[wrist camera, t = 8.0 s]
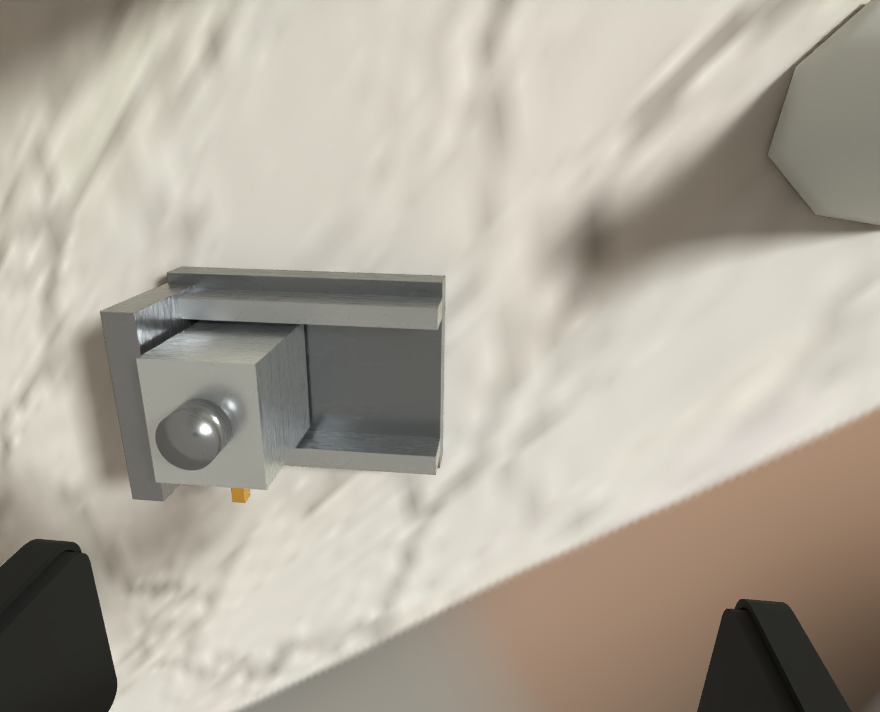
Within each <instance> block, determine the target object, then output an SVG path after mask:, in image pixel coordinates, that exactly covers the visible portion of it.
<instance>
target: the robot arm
mask: <svg viewBox="0 0 880 712" xmlns="http://www.w3.org/2000/svg"><path fill="white" fill-rule="evenodd" d="M116 692H117V678H116V673H115V669H114V665H113V660H112V656H111V651H110V647H109V643H108V638H107V634H106V629H105V625H104V621H103V616H102V612H101V607H100V603H99V598H98V594H97V590H96V585H95V581H94V576H93V572H92V568H91V563H90V560H89V557H88V556H87V555H86V554H85V553H82V552H81V549H80V547H79V546H78V545H77V544H76V543H74V542H67V541H55V540H43V539H35V540H31V541H29V542H28V543H27V544H25V545H24V546H23V547H22V548H21V549H20V550H18V551H17V552H16V553H15V554H14V555H13V556H12V557H11V558H10V559H9V560H8V561H7V562H5V563H4V564H3V565H2V566H1V567H0V712H108V711H109V709H110V708H111V706H112V704H113V701H114V699H115V695H116ZM697 712H851V710H850V708H849V707H848V705H847V703H846V701H845V700H844V698H843V696H842V695H841V693H840V691H839V689H838V688H837V686H836V685H835V683H834V681H833V679H832V678H831V676H830V674H829V672H828V671H827V669H826V667H825V666H824V664H823V662H822V660H821V659H820V657H819V655H818V654H817V652H816V650H815V648H814V647H813V645H812V643H811V642H810V640H809V638H808V636H807V635H806V633H805V631H804V630H803V628H802V626H801V624H800V623H799V621H798V619H797V618H796V616H795V614H794V613H793V611H792V610H791V608H790V607H789V606H788V605H787V604H785V603H783V602H772V601H761V600H749V599H740V600H739V601H738V603H737V604H736V607H735V609H726V610H725V611H724V613H723V615H722V619H721V623H720V627H719V630H718V634H717V638H716V642H715V646H714V650H713V653H712V657H711V661H710V665H709V669H708V673H707V676H706V680H705V684H704V688H703V691H702V696H701V699H700V703H699V707H698V711H697Z"/></svg>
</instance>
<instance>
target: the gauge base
mask: <svg viewBox="0 0 880 712" xmlns="http://www.w3.org/2000/svg"><path fill="white" fill-rule="evenodd" d="M167 279H168V283H166V284H163V285H161V286H159V287H156V288H154V289H152V290H149V291H147V292H145V293H142V294H140V295H137V296H135V297H133V298H130V299H128V300H126V301H123V302H121V303H119V304H116V305H114V306H112V307H109V308H107V309H104V310H102V311H100V315H101V321H102V326H103V332H104V338H105V343H106V349H107V355H108V361H109V366H110V372H111V378H112V383H113V389H114V395H115V401H116V406H117V412H118V418H119V423H120V429H121V435H122V441H123V446H124V452H125V458H126V463H127V469H128V475H129V481H130V486H131V492H132V498H133V499H139V500H153V501H164V500H165V499H166V498H167V497H168V496H169V495H170V494H171V493H172V492H173V491H174V490H175V489H176V488H177V487H178V486H179V485H180V484H172V483H158V482H156V481H155V474H154V468H153V462H152V456H151V449H150V443H149V437H148V430H147V424H146V418H145V412H144V405H143V399H142V393H141V386H140V380H139V374H138V368H137V361H136V358H138V357H139V356H141V355H143V354H144V353H146V352H148V351H150V350H151V349H153V348H155V347H156V346H158V345H160V344H161V343H163V342H165V341H166V340H168V339H170V338H171V337H173V336H175V335H177V334H178V333H180V332H182V331H183V330H185V329H187V328H188V327H190V326H192V325H193V324H195V323H197V322H199V321H200V320H218V321H241V322H265V323H288V324H304V336H305V352H306V368H307V384H308V400H309V416H310V427H309V429H308V430H307V432H306V433H305V435H304V436H303V438H302V439H301V441H300V442H299V443H298V445H297V446H296V448H295V449H294V451H293V452H292V454H291V455H290V457H289V458H288V460H287V461H286V462H285V464H284V465H290V466H306V467H321V468H337V469H352V470H368V471H383V472H398V473H414V474H429V475H436V471H437V468H440V464H441V459H442V453H443V392H444V332H445V276H432V275H403V274H375V273H346V272H317V271H289V270H260V269H231V268H202V267H180V268H177V269H175V270H172V271H170V272H167Z"/></svg>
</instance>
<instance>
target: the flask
mask: <svg viewBox="0 0 880 712" xmlns="http://www.w3.org/2000/svg"><path fill="white" fill-rule="evenodd" d="M768 156H769V158H770V159H771V160H772V161H773V163H774V164H775V165H776V166H777V168H778V169H779V170H780V171H781V172H782V174H783V175H784V176H785V177H786V179H787V180H788V181H789V182H790V184H791V185H792V186H793V187H794V189H795V190H796V191H797V192H798V194H799V195H800V196H801V197H802V199H803V200H804V201H805V202H806V204H807V205H808V206H809V207H810V208H811V210H812V211H813V212H814V213H815V215H820V216H827V217H833V218H839V219H845V220H851V221H857V222H863V223H869V224H875V225H880V0H871V1H870V2H869V3H868V4H866V5H865V6H864V7H863V8H862V9H861V10H860V11H859V12H857V13H856V14H855V15H854V16H853V17H852V18H851V19H849V20H848V21H847V22H846V23H845V24H844V25H843V26H841V27H840V28H839V29H838V30H837V31H836V32H835V33H834V34H832V35H831V36H830V37H829V38H828V39H827V40H826V41H824V42H823V43H822V44H821V45H820V46H819V47H818V48H816V49H815V50H814V51H813V52H812V53H811V54H810V55H808V56H807V57H806V58H805V59H804V60H803V61H802V62H801V63H799V64H798V65H797V66H796V67H795V70H794V73H793V76H792V79H791V83H790V86H789V89H788V92H787V95H786V98H785V101H784V105H783V108H782V111H781V114H780V117H779V120H778V123H777V127H776V130H775V133H774V136H773V139H772V142H771V145H770V148H769V152H768Z"/></svg>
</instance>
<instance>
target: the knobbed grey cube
mask: <svg viewBox="0 0 880 712" xmlns="http://www.w3.org/2000/svg"><path fill="white" fill-rule="evenodd" d="M136 361H137V368H138V374H139V380H140V386H141V393H142V399H143V405H144V412H145V418H146V424H147V430H148V437H149V443H150V449H151V456H152V462H153V468H154V474H155V481H156V482H158V483H172V484H187V485H201V486H216V487H231V492H232V501H233V502H239V503H245V502H246V501H247V500H248V498H249V497H250V490H249V489H260V490H267V489H268V487H269V486H270V484H271V483H272V481H273V480H274V478H275V477H276V476H277V474H278V473H279V471H280V470H281V468H282V467H283V465H284V464H285V462H286V461H287V460H288V458H289V457H290V455H291V454H292V452H293V451H294V449H295V448H296V446H297V445H298V443H299V442H300V441H301V439H302V438H303V436H304V435H305V433H306V432H307V430H308V429H309V427H310V416H309V400H308V384H307V368H306V352H305V336H304V324H288V323H265V322H241V321H218V320H200V321H199V322H197V323H195V324H193V325H192V326H190V327H188V328H187V329H185V330H183V331H182V332H180V333H178V334H177V335H175V336H173V337H171V338H170V339H168V340H166V341H165V342H163V343H161V344H160V345H158V346H156V347H155V348H153V349H151V350H150V351H148V352H146V353H144V354H143V355H141V356H139V357H138V358H136Z"/></svg>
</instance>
